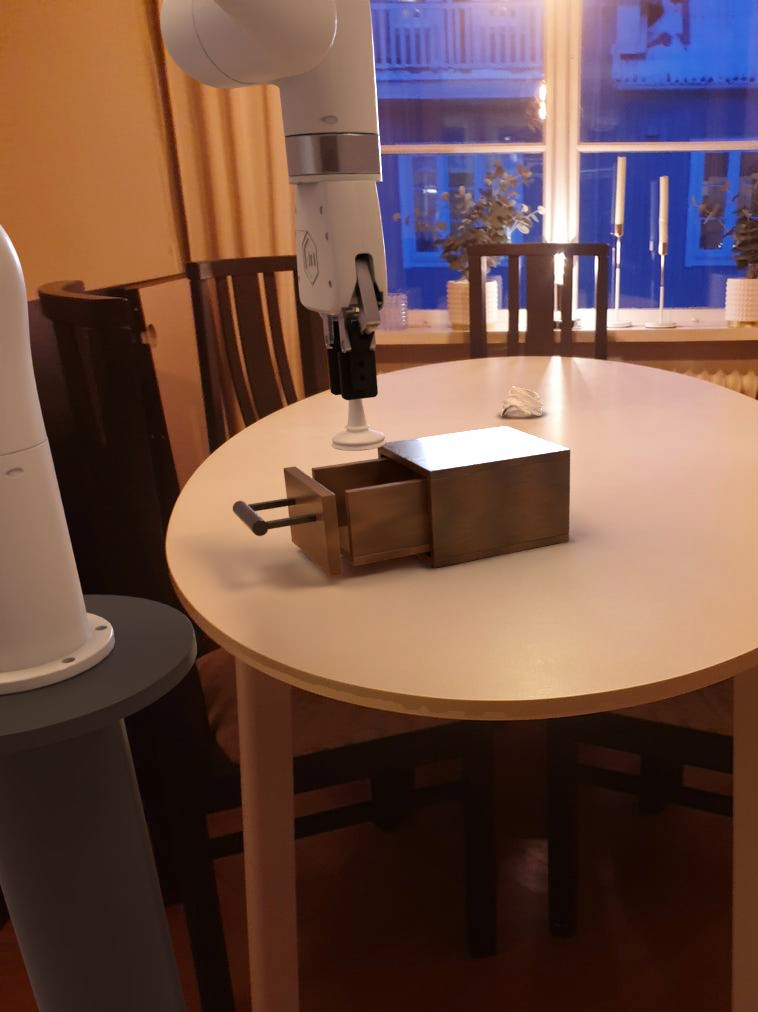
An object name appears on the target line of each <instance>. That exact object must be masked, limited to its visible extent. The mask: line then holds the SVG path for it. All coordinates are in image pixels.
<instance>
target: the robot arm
mask: <svg viewBox="0 0 758 1012" xmlns="http://www.w3.org/2000/svg"><path fill="white" fill-rule="evenodd" d="M159 16H160V17H159V23H160V33H161V36H162V41H163V43H164V46H165V48H166V50H167V53H168V54H169V56H170V57H171V59H172V60H173V61H174V63H175V64H176V66H177V67H178V68H179V69H180V70H181V71H182V72H183V73H184V74H186V75H187V76H188V77H190V78H192V79H193V80H195V81H197V82H198V83H200V84H202V85H204V86H208V87H210V88H214V89H223V90H224V89H225V90H229V89H230V90H232V89H240V88H248V87H255V86H256V87H257V86H269V85H270V86H271V85H272V86H276V87H277V88H278V89H279V99H280V108H281V117H282V126H283V127H282V128H283V134H284V135H283V137H284V145H285V154H286V163H287V164H286V165H287V173H288V174H287V175H288V185H295V189H294V229H295V230H294V232H295V251H296V266H297V268H296V269H297V282H298V294H299V296H298V297H299V301H300V304H301V305H302V306H304V308H306V309H307V310H308V311H309V310H310V311H313V312H317V313H318V315H319V316H320V318H321V321H322V325H323V326H322V327H323V336H324V337H323V338H324V343H325V346H326V349H325V350H326V358H327V359H326V360H327V370H328V382H329V392H330V394H331V395H334V396H341V398H342V399H343V400H345V401H349V400H355V399H362V400H363V399H370V398H376V397H377V396H378V394H379V388H378V375H377V363H376V361H377V359H376V348H377V344H376V342H377V341H376V330H377V329H378V328H379V326H380V325H381V315H380V312H381V311H382V310H383V309H384V308H385V307H386V305H387V303H388V274H387V273H388V270H387V259H386V257H387V256H386V248H385V239H384V229H383V221H382V214H381V206H380V200H379V194H378V193H379V192H378V188H377V183H381V182H383V173H382V170H383V169H382V156H381V141H380V140H381V139H380V138H381V137H380V127H379V125H380V124H379V108H378V107H379V106H378V93H377V77H376V66H375V65H376V64H375V49H374V48H375V47H374V35H373V21H372V9H371V0H163V1H162V4H161V8H160V15H159ZM24 276H25V275H24V272H23V268H22V263H21V261H20V259H19V255H18V252H17V250H16V248H15V246H14V243H13V242H12V240H11V238H10V236H9V235H8V233H7V232H6V230H5V229H4V227H3V225H2V224H1V223H0V695H7V694H14V693H21V692H26V691H30V690H35V689H39V688H43V687H46V686H50V685H53V684H56V683H59V682H62V681H64V680H67V679H70V678H72V677H75V676H77V675H79V674H81V673H83V672H85V671H87V670H89V669H90V668H92V667H94V666H95V665H97V664H98V663H100V662H101V661H102V660H103V659H104V658H105V657H107V656H108V655H109V653H110V652H111V650H112V649H113V648H114V644H115V637H114V632H113V628H112V626H111V624H110V623H109V622H108V621H107V620H105V619H104V618H102V617H99V616H97V615H94V614H90V613H87V612H86V608H85V603H84V599H83V595H84V594H83V590H82V586H81V581H80V577H79V572H78V568H77V563H76V559H75V555H74V550H73V546H72V541H71V537H70V533H69V532H70V531H69V527H68V523H67V519H66V518H67V517H66V514H65V509H64V505H63V501H62V496H61V491H60V487H59V482H58V478H57V474H56V470H55V464H54V460H53V456H52V455H53V454H52V451H51V447H50V441H49V438H48V435H47V431H46V426H45V422H44V417H43V414H42V408H41V403H40V398H39V393H38V388H37V381H36V376H35V371H34V364H33V357H32V348H31V337H30V336H31V335H30V322H29V306H28V296H27V295H28V294H27V287H26V282H25V277H24ZM357 309H358V311H357Z"/></svg>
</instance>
